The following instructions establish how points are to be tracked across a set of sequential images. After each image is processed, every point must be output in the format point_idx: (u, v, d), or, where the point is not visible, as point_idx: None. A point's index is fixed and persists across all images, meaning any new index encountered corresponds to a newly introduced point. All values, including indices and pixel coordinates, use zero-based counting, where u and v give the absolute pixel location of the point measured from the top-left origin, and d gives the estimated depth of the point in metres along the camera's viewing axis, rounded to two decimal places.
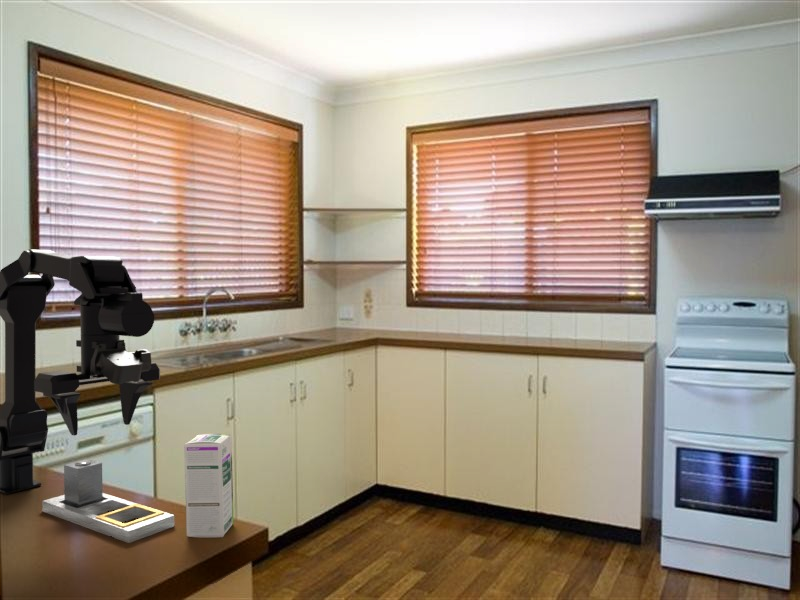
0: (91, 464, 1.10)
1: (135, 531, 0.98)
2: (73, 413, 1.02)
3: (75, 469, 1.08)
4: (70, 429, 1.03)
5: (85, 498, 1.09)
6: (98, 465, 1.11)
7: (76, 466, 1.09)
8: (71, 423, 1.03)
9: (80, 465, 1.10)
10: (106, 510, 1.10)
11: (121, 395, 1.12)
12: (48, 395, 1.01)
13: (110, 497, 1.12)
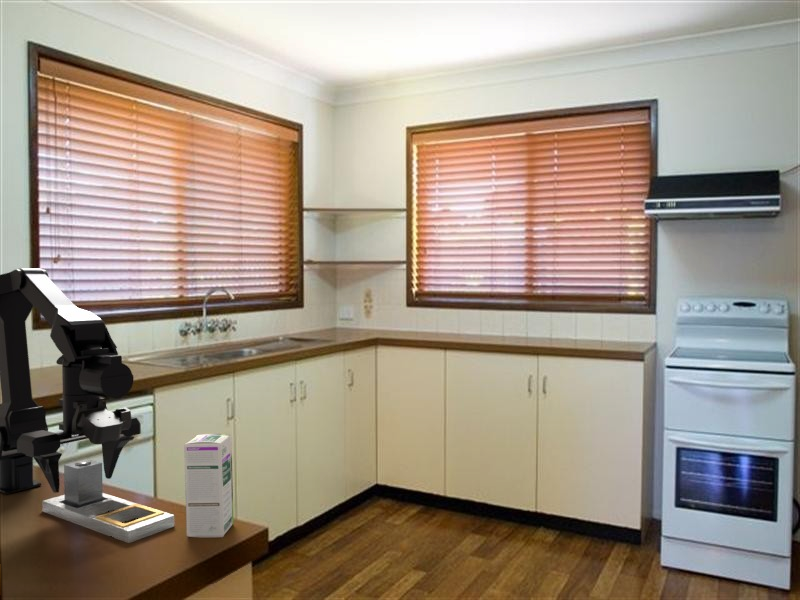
0: (91, 464, 1.10)
1: (135, 531, 0.98)
2: (55, 472, 1.06)
3: (75, 469, 1.08)
4: (52, 487, 1.07)
5: (85, 498, 1.09)
6: (98, 465, 1.11)
7: (76, 466, 1.09)
8: (53, 481, 1.06)
9: (80, 465, 1.10)
10: (106, 510, 1.10)
11: (103, 449, 1.16)
12: (30, 455, 1.05)
13: (110, 497, 1.12)
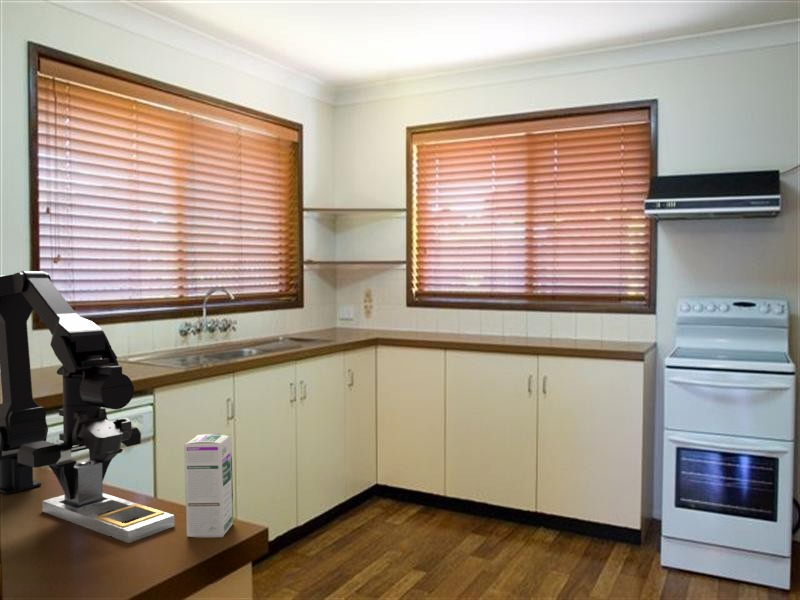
0: (91, 464, 1.10)
1: (135, 531, 0.98)
2: (69, 479, 1.08)
3: (75, 469, 1.08)
4: (67, 494, 1.09)
5: (85, 497, 1.09)
6: (98, 465, 1.11)
7: (76, 466, 1.09)
8: (67, 488, 1.08)
9: (80, 465, 1.10)
10: (106, 510, 1.10)
11: None
12: None
13: (110, 497, 1.12)
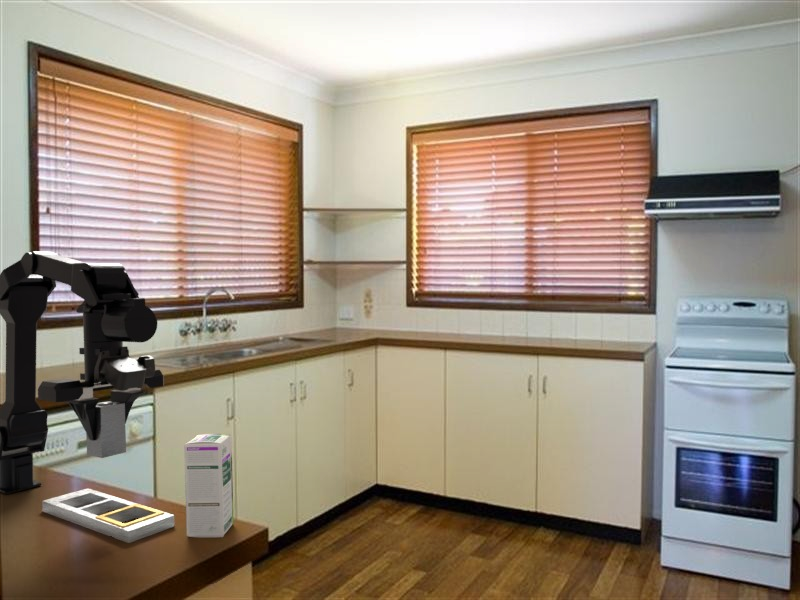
0: (113, 404, 1.06)
1: (135, 531, 0.98)
2: (92, 418, 1.04)
3: (97, 408, 1.04)
4: (89, 434, 1.05)
5: (108, 438, 1.05)
6: (121, 405, 1.07)
7: (98, 405, 1.05)
8: (90, 428, 1.04)
9: (102, 405, 1.06)
10: (106, 510, 1.10)
11: None
12: (67, 401, 1.03)
13: (110, 497, 1.12)
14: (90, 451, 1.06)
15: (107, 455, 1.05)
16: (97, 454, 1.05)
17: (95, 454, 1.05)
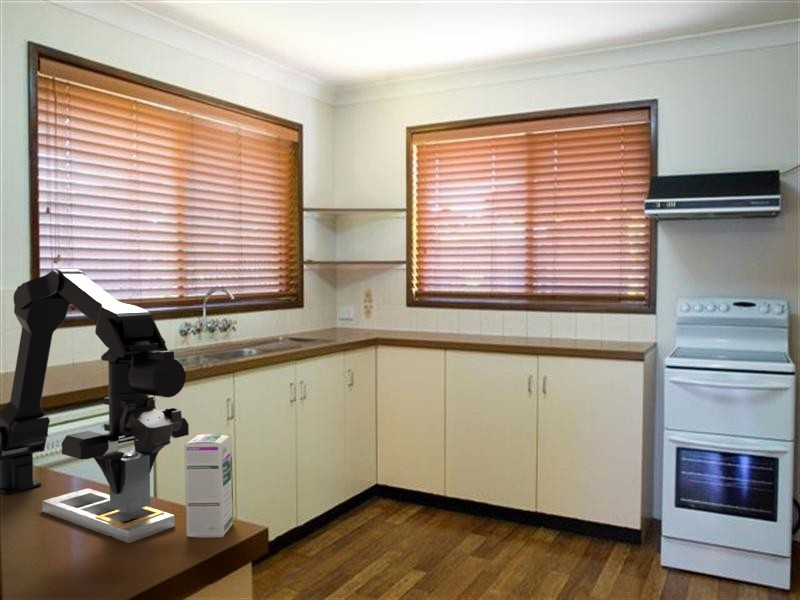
0: (138, 456, 1.03)
1: (135, 531, 0.98)
2: (116, 472, 1.00)
3: (122, 461, 1.01)
4: (112, 488, 1.01)
5: (132, 492, 1.02)
6: (146, 457, 1.03)
7: (123, 458, 1.02)
8: (114, 482, 1.01)
9: (127, 457, 1.02)
10: (106, 510, 1.10)
11: None
12: None
13: None
14: (114, 504, 1.02)
15: (131, 509, 1.02)
16: (121, 508, 1.01)
17: (119, 508, 1.02)
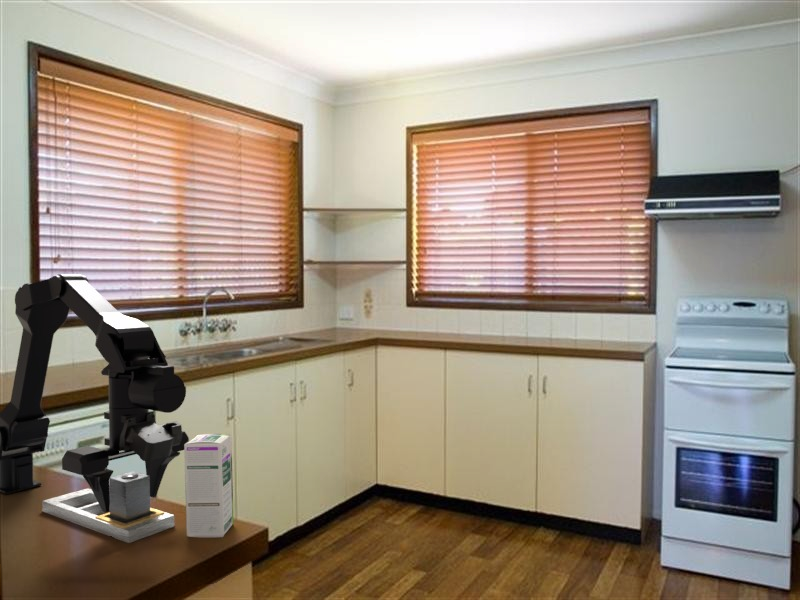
0: (138, 477, 1.03)
1: (135, 531, 0.98)
2: (105, 490, 0.99)
3: (122, 483, 1.01)
4: (102, 506, 1.00)
5: (132, 513, 1.02)
6: (146, 478, 1.04)
7: (123, 479, 1.02)
8: (103, 500, 0.99)
9: (127, 478, 1.02)
10: None
11: (146, 466, 1.08)
12: None
13: None
14: None
15: None
16: None
17: None
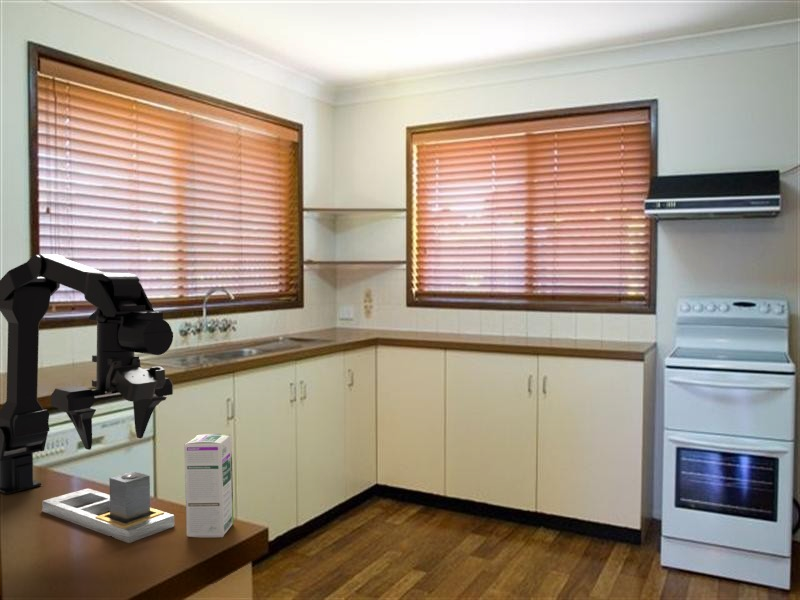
0: (138, 477, 1.03)
1: (135, 531, 0.98)
2: (88, 428, 1.04)
3: (122, 483, 1.01)
4: (84, 443, 1.05)
5: (132, 513, 1.02)
6: (146, 478, 1.04)
7: (123, 479, 1.02)
8: (86, 438, 1.05)
9: (127, 478, 1.02)
10: (106, 510, 1.10)
11: (134, 409, 1.14)
12: (64, 410, 1.03)
13: None
14: None
15: None
16: None
17: None
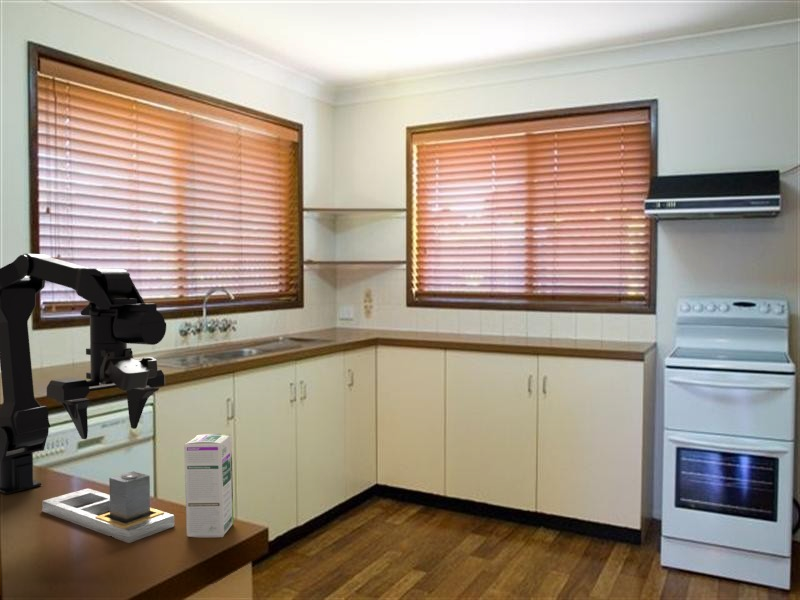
0: (138, 477, 1.03)
1: (135, 531, 0.98)
2: (83, 418, 1.08)
3: (122, 483, 1.01)
4: (80, 433, 1.09)
5: (132, 513, 1.02)
6: (146, 478, 1.04)
7: (123, 479, 1.02)
8: (81, 427, 1.08)
9: (127, 478, 1.02)
10: (106, 510, 1.10)
11: (128, 400, 1.18)
12: (60, 401, 1.07)
13: None
14: None
15: None
16: None
17: None
